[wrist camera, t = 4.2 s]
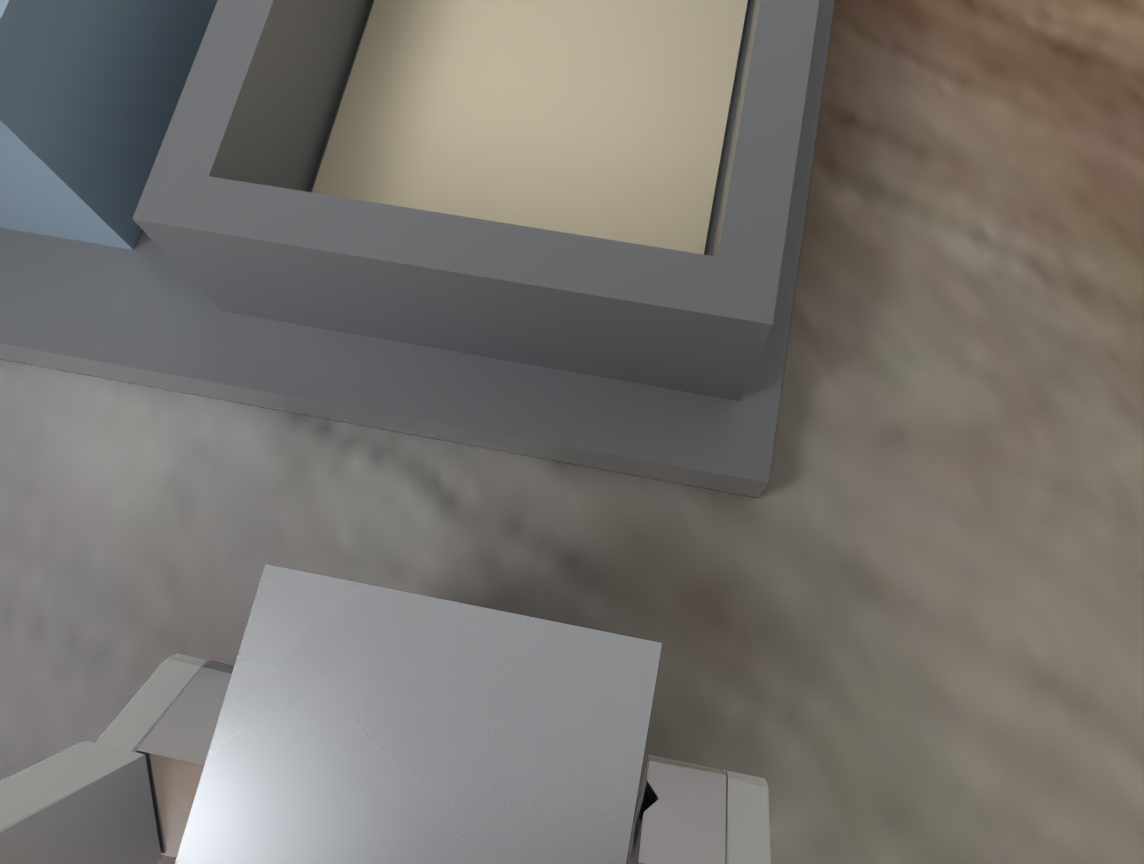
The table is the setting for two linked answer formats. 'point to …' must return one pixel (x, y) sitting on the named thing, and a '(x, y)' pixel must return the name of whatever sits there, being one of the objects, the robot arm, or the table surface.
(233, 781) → the grey square pillar block
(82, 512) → the table surface
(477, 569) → the table surface
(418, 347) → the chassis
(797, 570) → the table surface
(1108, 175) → the table surface
